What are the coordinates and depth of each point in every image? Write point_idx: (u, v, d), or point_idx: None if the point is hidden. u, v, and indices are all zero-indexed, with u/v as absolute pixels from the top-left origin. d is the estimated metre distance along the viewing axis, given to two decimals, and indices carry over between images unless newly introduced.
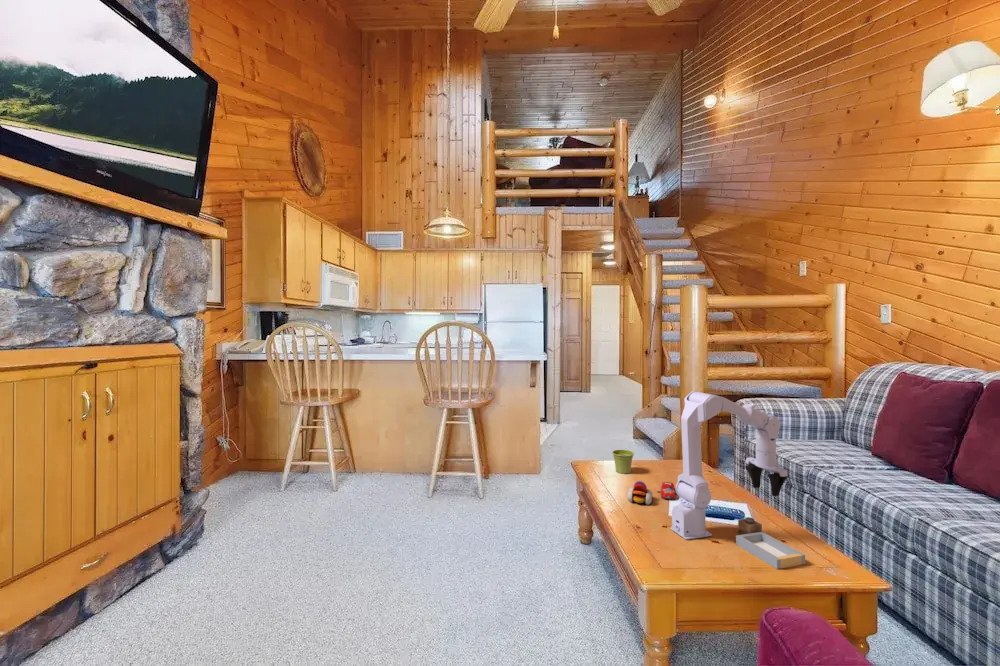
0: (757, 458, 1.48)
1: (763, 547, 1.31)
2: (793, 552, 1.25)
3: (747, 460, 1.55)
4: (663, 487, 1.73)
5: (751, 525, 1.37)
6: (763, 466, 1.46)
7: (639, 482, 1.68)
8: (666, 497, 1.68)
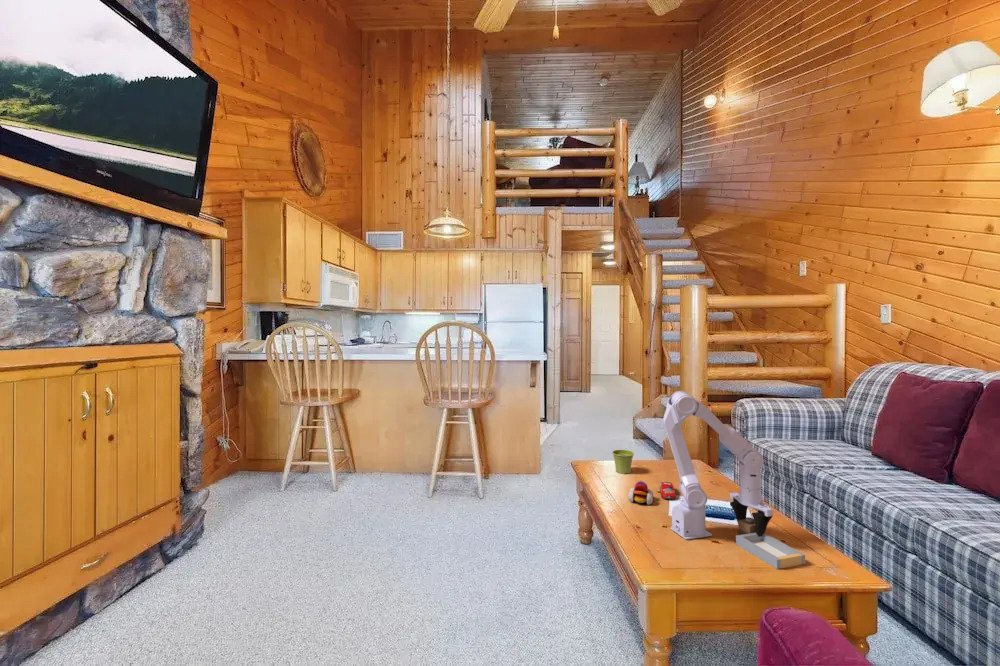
0: (741, 495, 1.38)
1: (763, 547, 1.31)
2: (793, 552, 1.25)
3: (731, 496, 1.45)
4: (663, 487, 1.73)
5: (751, 525, 1.37)
6: (747, 504, 1.36)
7: (640, 482, 1.68)
8: (667, 497, 1.68)
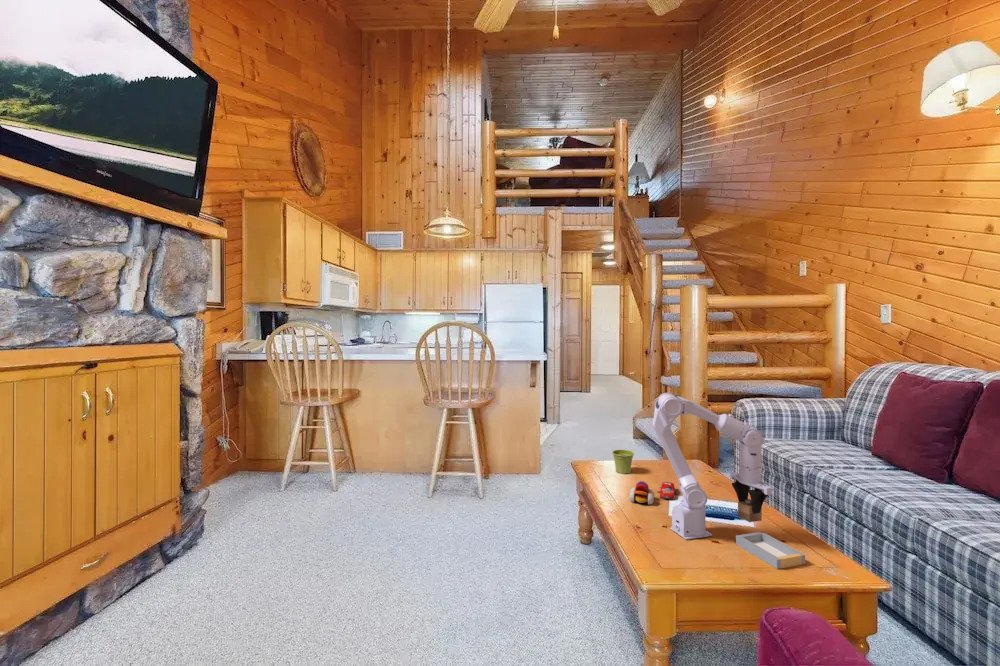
0: (741, 474, 1.38)
1: (763, 547, 1.31)
2: (793, 552, 1.25)
3: (731, 475, 1.45)
4: (662, 487, 1.73)
5: (750, 506, 1.36)
6: (747, 483, 1.36)
7: (641, 482, 1.68)
8: (665, 497, 1.68)
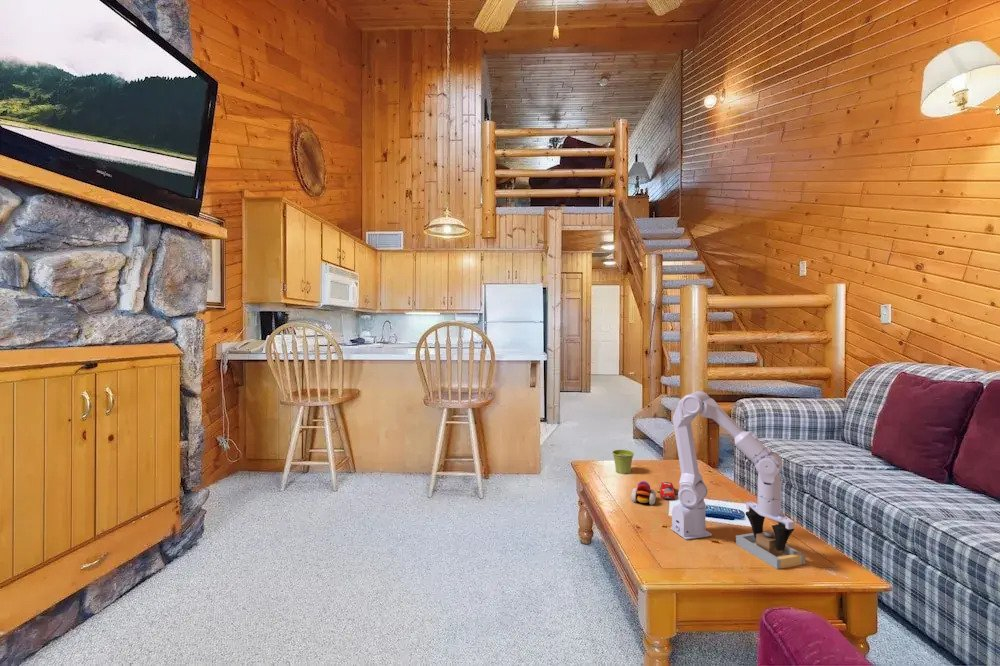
0: (759, 505, 1.28)
1: None
2: (793, 552, 1.25)
3: (747, 505, 1.34)
4: (662, 487, 1.73)
5: (770, 540, 1.26)
6: (766, 515, 1.26)
7: (643, 482, 1.68)
8: (665, 497, 1.68)
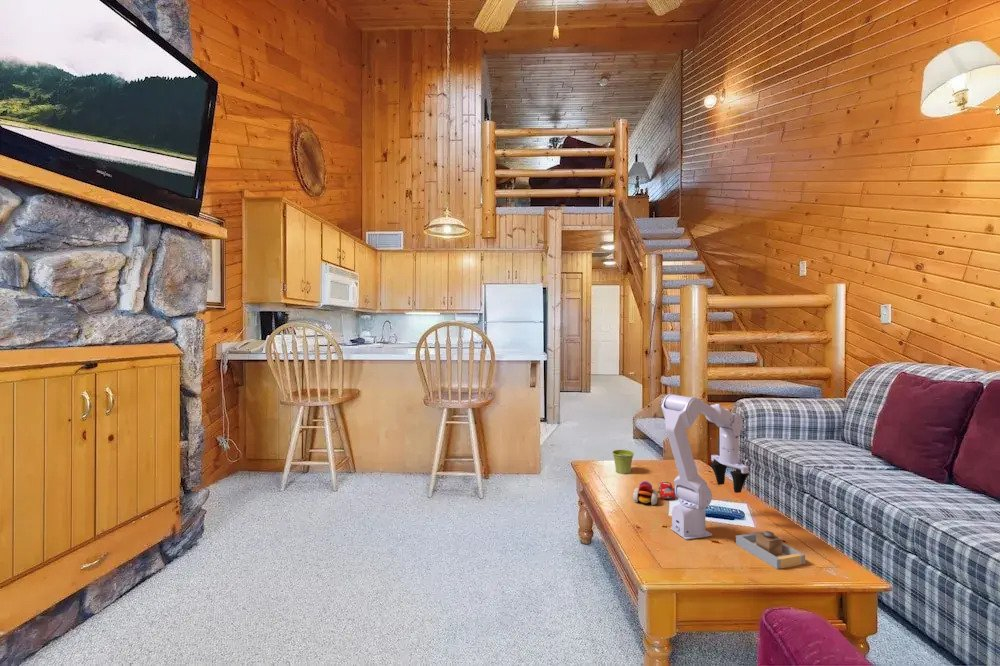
0: (720, 455, 1.51)
1: None
2: (793, 552, 1.25)
3: (712, 457, 1.57)
4: (662, 487, 1.73)
5: (770, 540, 1.26)
6: (726, 463, 1.49)
7: (644, 482, 1.68)
8: (666, 497, 1.68)
